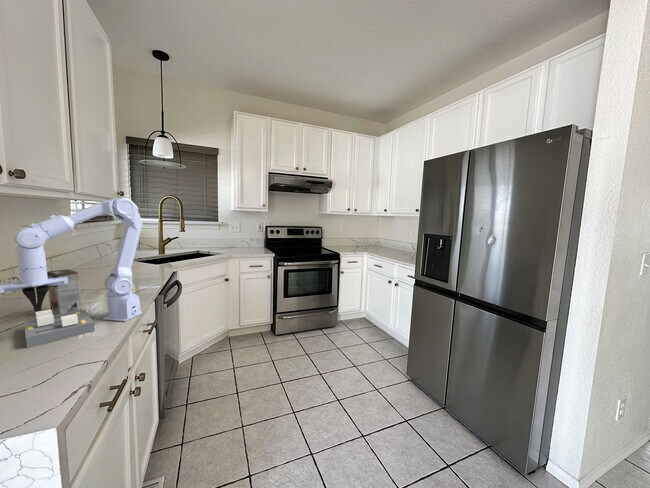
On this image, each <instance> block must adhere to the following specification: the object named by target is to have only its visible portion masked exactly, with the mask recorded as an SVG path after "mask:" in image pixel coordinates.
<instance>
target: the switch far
mask: <svg viewBox="0 0 650 488" xmlns="http://www.w3.org/2000/svg"><path fill="white" fill-rule="evenodd" d="M47 314H52V311H51V308H49V309H44V310H41V311H36V312H35V319H36V320H37V316H42V315H47Z"/></svg>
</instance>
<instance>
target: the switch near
mask: <svg viewBox="0 0 650 488" xmlns="http://www.w3.org/2000/svg"><path fill="white" fill-rule="evenodd" d="M77 323H78V316H77V314H71V315H66V316H62V317H61V324H62V326H63V327H64V326H69V325H73V324H77Z"/></svg>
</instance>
